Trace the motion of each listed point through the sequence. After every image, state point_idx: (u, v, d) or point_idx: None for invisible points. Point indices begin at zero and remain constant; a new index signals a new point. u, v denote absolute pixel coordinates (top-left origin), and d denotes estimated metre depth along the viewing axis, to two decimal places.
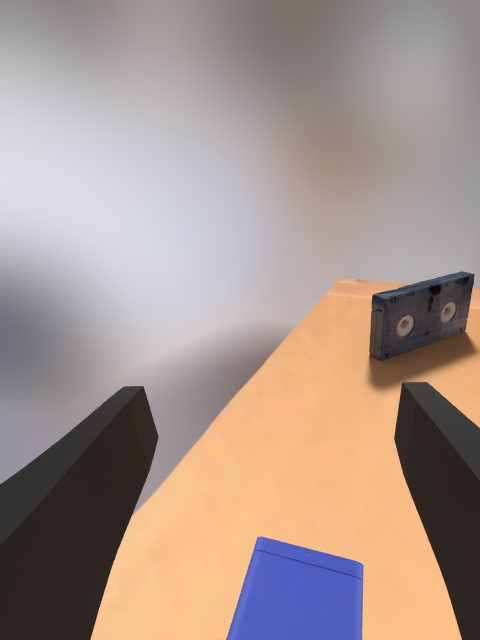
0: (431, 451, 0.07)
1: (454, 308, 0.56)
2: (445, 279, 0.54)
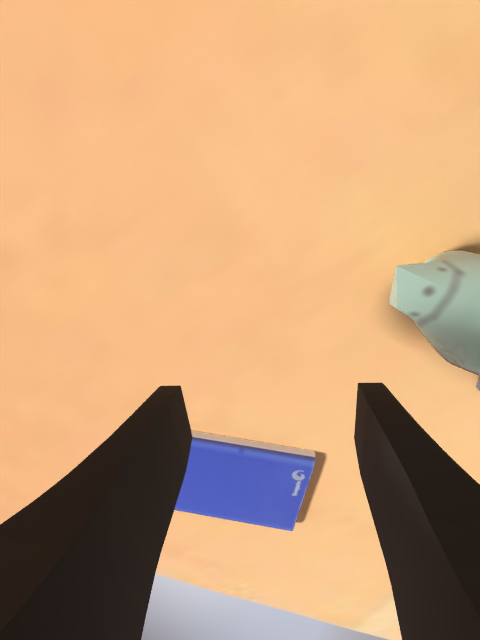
0: (377, 450, 0.08)
1: None
2: None
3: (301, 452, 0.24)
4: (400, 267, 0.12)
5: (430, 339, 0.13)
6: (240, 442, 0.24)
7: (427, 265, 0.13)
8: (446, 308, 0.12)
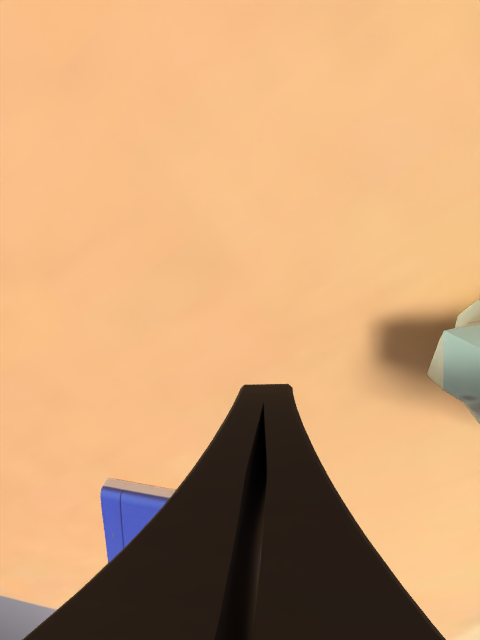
0: None
1: None
2: None
3: None
4: (450, 333, 0.08)
5: None
6: None
7: None
8: None
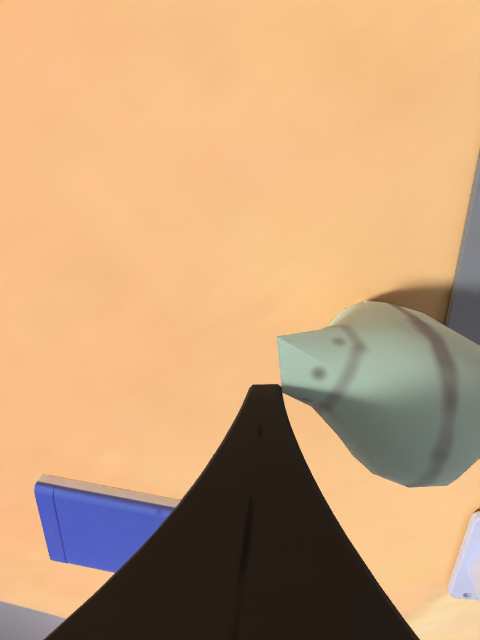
0: None
1: None
2: None
3: None
4: (281, 339, 0.09)
5: None
6: (159, 501, 0.21)
7: (320, 334, 0.09)
8: (341, 398, 0.09)
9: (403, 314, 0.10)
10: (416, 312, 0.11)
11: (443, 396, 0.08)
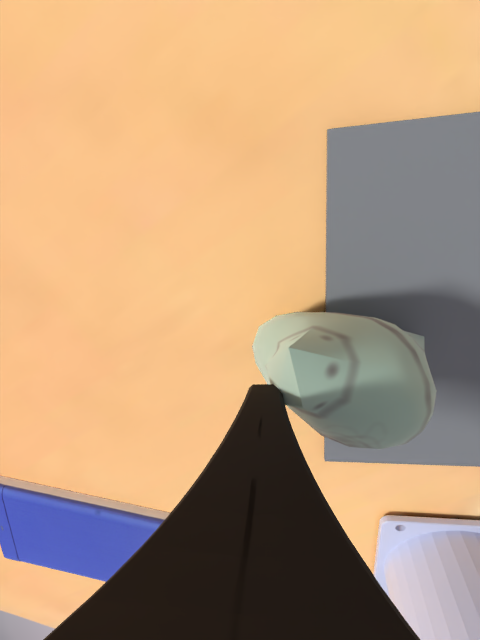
0: None
1: None
2: None
3: (163, 515, 0.22)
4: (294, 348, 0.08)
5: (330, 428, 0.10)
6: (99, 502, 0.22)
7: (310, 337, 0.09)
8: (354, 385, 0.09)
9: (324, 312, 0.12)
10: None
11: (411, 352, 0.10)
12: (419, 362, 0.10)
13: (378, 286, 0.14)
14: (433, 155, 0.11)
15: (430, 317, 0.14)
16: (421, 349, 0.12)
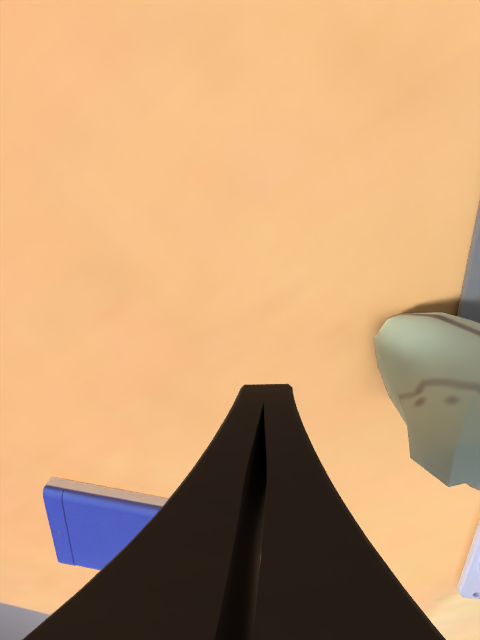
0: None
1: None
2: None
3: None
4: (462, 445, 0.07)
5: None
6: None
7: (475, 413, 0.08)
8: None
9: None
10: (472, 324, 0.11)
11: None
12: None
13: None
14: None
15: None
16: None
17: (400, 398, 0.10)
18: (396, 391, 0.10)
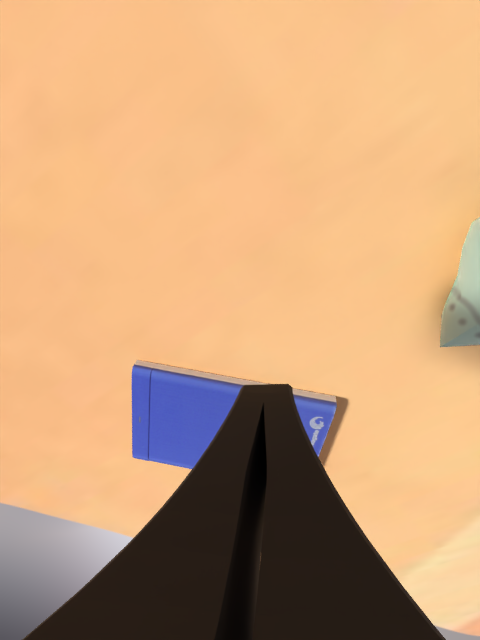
0: None
1: None
2: None
3: (320, 396, 0.21)
4: None
5: None
6: (253, 384, 0.21)
7: (466, 335, 0.15)
8: None
9: None
10: None
11: None
12: None
13: None
14: None
15: None
16: None
17: (451, 289, 0.16)
18: (455, 280, 0.16)
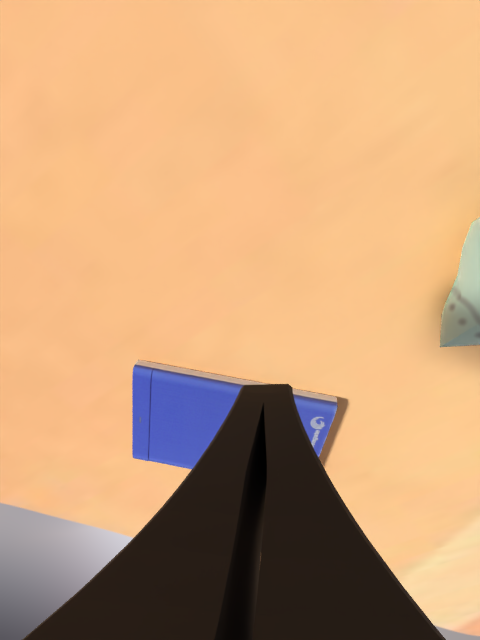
0: None
1: None
2: None
3: (321, 396, 0.21)
4: None
5: None
6: (254, 384, 0.21)
7: (466, 335, 0.15)
8: None
9: None
10: None
11: None
12: None
13: None
14: None
15: None
16: None
17: (451, 289, 0.16)
18: (456, 279, 0.16)
